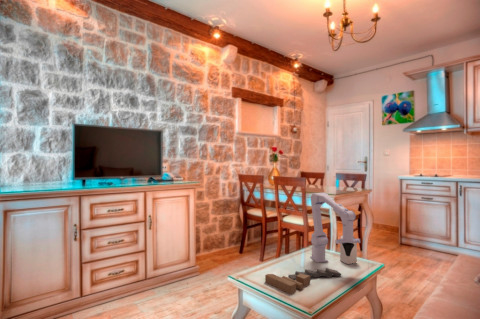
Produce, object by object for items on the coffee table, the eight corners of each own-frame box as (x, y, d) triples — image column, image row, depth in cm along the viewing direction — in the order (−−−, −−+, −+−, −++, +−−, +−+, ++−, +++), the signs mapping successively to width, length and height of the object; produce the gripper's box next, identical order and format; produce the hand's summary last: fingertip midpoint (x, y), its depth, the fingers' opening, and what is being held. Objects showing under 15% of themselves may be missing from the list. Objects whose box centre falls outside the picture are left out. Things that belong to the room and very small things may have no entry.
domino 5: (336, 270, 154) (325, 267, 152) (341, 274, 149) (330, 271, 148) (335, 273, 154) (325, 270, 152) (340, 276, 149) (329, 274, 147)
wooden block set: (292, 284, 128) (264, 272, 141) (292, 296, 128) (264, 283, 141) (311, 274, 139) (284, 264, 153) (311, 285, 139) (284, 274, 153)
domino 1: (304, 280, 145) (291, 281, 144) (300, 276, 150) (288, 277, 149) (304, 277, 145) (292, 278, 144) (300, 273, 150) (288, 274, 149)
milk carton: (349, 259, 176) (349, 230, 176) (356, 263, 169) (356, 233, 170) (340, 260, 174) (340, 231, 174) (347, 264, 167) (347, 234, 167)
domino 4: (331, 277, 148) (320, 275, 147) (326, 273, 153) (315, 271, 152) (332, 274, 148) (320, 272, 147) (327, 271, 153) (316, 268, 152)
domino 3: (319, 277, 147) (308, 275, 146) (315, 274, 152) (304, 271, 151) (320, 274, 148) (309, 272, 146) (316, 271, 152) (305, 269, 151)
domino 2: (310, 279, 145) (300, 278, 143) (305, 275, 150) (294, 274, 147) (311, 276, 145) (301, 275, 143) (305, 272, 150) (295, 271, 147)
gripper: (340, 234, 148) (340, 258, 148) (363, 233, 151) (363, 257, 150) (333, 231, 155) (333, 254, 155) (356, 230, 158) (356, 253, 157)
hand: (347, 255), depth 153 cm, fingers closed
